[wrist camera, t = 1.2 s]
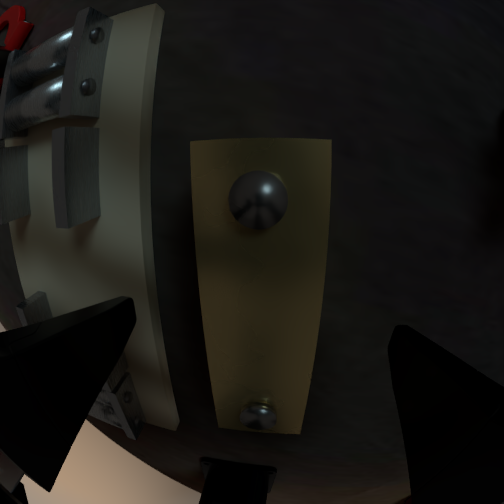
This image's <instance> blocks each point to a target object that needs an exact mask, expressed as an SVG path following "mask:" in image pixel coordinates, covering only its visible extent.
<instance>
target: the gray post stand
mask: <svg viewBox="0 0 504 504" xmlns="http://www.w3.org/2000/svg"><path fill="white" fill-rule="evenodd" d="M24 20H25V9H24V7H22V6H18V5H15V6H13V7H11V8H9V9H8V10H7V11H6V12H5V13H4V14H3V15H2V16H1V17H0V31H1V30H2V29H3V28H4V26H5V25H7V24H8V23H9V29H8V33H7V36H6V39H5V44H6V46H5V47H4V46H0V88H1V86H2V84H3V79H4V74H5V69H6V64H7V60H8V56H9V53H11V52H12V51H14V50H15V49H17V50H19V49H20V47H21V46H22V44H23V42H24V40H25V39H26V37H27V35H28V34H29V32H30V30H31V29H32V27H33V26H34V25H33V24H32V23H30V22H28V21H24Z"/></svg>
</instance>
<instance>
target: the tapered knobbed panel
mask: <svg viewBox="0 0 504 504" xmlns="http://www.w3.org/2000/svg"><path fill="white" fill-rule="evenodd" d="M190 154H191V183H192V204H193V221H194V236H195V249H196V261H197V272H198V283H199V293H200V302H201V312H202V320H203V328H204V336H205V344H206V352H207V359H208V366H209V373H210V379H211V386H212V392H213V398H214V404H215V410H216V416H217V421H218V427H219V428H226V429H234V430H242V431H252V432H264V433H281V434H300V431H301V427H302V422H303V418H304V413H305V408H306V403H307V398H308V392H309V387H310V381H311V376H312V370H313V364H314V358H315V351H316V345H317V338H318V331H319V323H320V316H321V307H322V299H323V290H324V280H325V270H326V259H327V246H328V232H329V215H330V193H331V140H324V139H302V138H240V139H218V140H202V141H190Z"/></svg>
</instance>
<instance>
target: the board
mask: <svg viewBox="0 0 504 504" xmlns="http://www.w3.org/2000/svg"><path fill="white" fill-rule="evenodd" d="M164 14H165V11H164V10H163V9H162V8H161V7H159V6H158V5H157V4H152V5H148V6H144V7H140V8H137V9H134V10H130V11H127V12H124V13H121V14H118V15H115V16H112V17H109V18H111V19H113V20H114V21H113V26H112V30H111V35H110V40H109V45H108V50H107V56H106V62H105V69H104V76H103V84H102V93H101V103H100V116H99V118H94V119H90V120H85V119H71V118H59V117H58V118H55V119H52V120H49V121H46V122H43V123H40V124H37V125H34V126H31V127H29V128H28V137H25V138H21V139H10V140H5V147H12V146H21V145H28V182H29V198H30V209H31V214H29V215H27V216H24V217H21V218H18V219H16V220H13V221H10V222H9V225H10V232H11V238H12V243H13V249H14V254H15V259H16V263H17V268H18V272H19V276H20V280H21V284H22V288H23V291H24V295H25V298H26V299H27V298H29V297H30V296H32V295H33V294H34V293H36V292H37V291H42V292H45V293H46V295H47V299H48V302H49V306H50V309H51V312H52V316H53V317H57V316H60V315H63V314H66V313H69V312H72V311H76V310H79V309H82V308H85V307H88V306H91V305H95V304H98V303H101V302H104V301H107V300H110V299H114V298H117V297H120V296H126V297H131V298H132V299H133V301H134V305H135V311H136V317H137V321H136V325H135V327H134V329H133V331H132V333H131V335H130V337H129V340H128V342H127V344H126V346H125V348H124V352H125V355H126V359H127V362H128V366H129V368H128V369H127V371H126V372H129V373H130V375H131V378H132V381H133V384H134V387H135V390H136V393H137V396H138V399H139V402H140V405H141V407H142V410H143V413H144V415H145V418H146V423H149V424H153V425H156V426H159V427H163V428H166V429H170V430H174V431H176V429H177V427H178V424H179V422H180V420H179V416H178V412H177V407H176V403H175V399H174V394H173V389H172V384H171V379H170V374H169V369H168V364H167V358H166V352H165V346H164V340H163V334H162V327H161V320H160V313H159V305H158V296H157V287H156V278H155V267H154V255H153V240H152V221H151V185H150V164H151V129H152V111H153V97H154V86H155V76H156V67H157V58H158V51H159V44H160V37H161V31H162V25H163V19H164ZM64 70H65V68H63V69H61V70H58V71H56V72H54V73H52V74H49V75H47V76H45V77H43V78H41V79H39V80H37V81H35V82H33V87H32V89H33V88H35V87H37V86H39V85H41V84H43V83H45V82H47V81H50V80H52V79H54V78H57V77H59V76H61V75H64ZM61 127H91V128H100V131H99V190H100V208H101V216H99V217H96V218H93V219H91V220H88V221H86V222H84V223H81V224H79V225H76V226H74V227H71V228H69V229H64V228H56V223H55V214H54V203H53V188H52V130H54V129H57V128H61Z"/></svg>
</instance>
